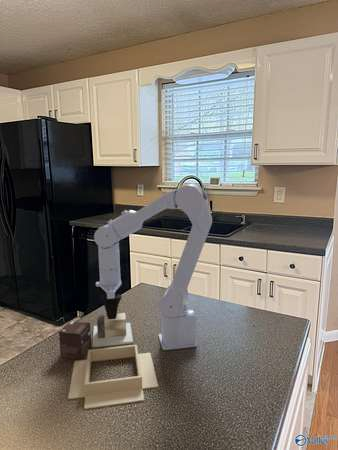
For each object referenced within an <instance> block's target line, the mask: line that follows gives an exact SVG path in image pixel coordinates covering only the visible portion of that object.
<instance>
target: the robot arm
mask: <svg viewBox="0 0 338 450" xmlns="http://www.w3.org/2000/svg"><path fill="white" fill-rule="evenodd" d="M177 208H179V210H181V211H182V212H184V214H186V215H187V217H188V219H189V221H190V222H191V224H192V225H191V229H190V232H189V234H188V237H187V239H186V242H185V245H184V247H183V251H182V252H181V256H180V259H179V261H178V264H177V267H176V270H175V272H174V276H173V277H172V281H171V283H170V284H169V286H168V287H167V288H166V291H165V293H164V294H163V297H162V298H160V301H159V309H160V311H161V312H160V313H161V316H160V317H161V321H160V322H161V325H160V326H161V333H159V334H158V338H159V342H160V346H161V349H162V350H163V351H168V350H169V351H170V350H171V351H172V350H179V349H188V348H196V347H197V346H198V344H197V317H196V313H195V311H194V309H188V308H187V307H188V306H186V304H185V303H186V302H187V299H188V297H189V293H188V292H189V290H188V288H189V285H190V282H191V280H192V277H193V274H194V273H195V272H194V271H195V268H196V266H197V264H198V261H199V258H200V256H201V253H202V251H203V248H204V246H205V242H206V240H207V237H208V235H209V232H210V230H211V226H212V225H213V217H212V213H211V208H210V203H209V199H208V195H207V194H206V191H204V189H203V188H202V186H200V185H199V184H197V183H187V184H186V185H182V186H180V187H178V188H177V189H174V190H171V191H169V192H165V193H164V194H163V195H161V196H159V197H157V198H156V199H155V200H153V201H151V202H150V203H148V204H146V205H145V206H144V207H142V208H141V209H139V210H137V211H136V210H133V209H129V210H127V209H125V210H123V211H121V215H120V216H118V217H116V218H114V219H110V220H108V221H107V224H105V225H103V226H99V227H98V228H97V230H95V232H94V235H93V241H94V242H95V244H96V245H97V248H98V253H97V254H98V269H99V270H98V271H99V281H96V282H95V286H96V287H99V288H101V289H102V290H103V292H104V294H100V296H99V298H100V301H101V303H102V304H103V306H104V308H105V313H106V315H107V317H108V319H116V316H117V314H118V310H119V309H118V307H119V303H120V302H121V300H122V294H118V292H119V288H120V287H121V285H122V280H121V265H120V264H121V263H120V262H121V260H120V258H121V256H120V244H119V243H120V241H121V240H123V239H125V238H127V237H129V236H130V235H132V234H134V233H136V232H137V231H139V230H141V229H142V228H143V225H144V224H143V223H144V221H146V220H148V219H149V218H151V217H153V216H156V215H157V214H159V213H160V212H162V211H164V210H167V209H172V210H177Z"/></svg>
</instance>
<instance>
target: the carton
mask: <svg viewBox="0 0 338 450" xmlns="http://www.w3.org/2000/svg"><path fill="white" fill-rule="evenodd" d="M138 350H139V349H138V344H127V345H120V346H119V345H118V346H110V347H104V348H102V347H100V348H91V349H90V350H88V353H87V359H82V360H75V361H73V367H72V373H71V379H70V380H71V381H70V385H69V392H68V398H67V399H68V400H75V399H82V398H84V404H83V405H84V406H83V407H84V408H83V409H84V410H90V409H96V408H103V407H104V408H105V407H110V406H117V405H123V404H124V405H125V404H130V403H138V402H144V401H145V396H144V391H143V390H148V389H156V388H159V384H158V380H157V376H156V370H155V367H154V362H153V359H152V358H153V357H152V355H151V352H143V353H139V351H138ZM125 358H135V359H134V360H135V364H136V365H135V366H136V373H137V375H134V376H127V377H119V378H113V379H105V380H104V379H103V380H96V381H91V369H92V367H91V366H92V362H93V363H94V362H102V361H109V360H118V359H125Z"/></svg>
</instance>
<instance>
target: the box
mask: <svg viewBox="0 0 338 450" xmlns="http://www.w3.org/2000/svg"><path fill="white" fill-rule="evenodd" d="M58 337H59V338H58V340H59V352H60V358H62V359H70V360H78V361H81V360H84V358H85V357H86V355H88V350H91V349H92V333H91V323H90V322H82V321H81V322H80V321H74V320H73V321H72V320H71V321H68V323H67V324H65V325H64V326H63V328H61V330H59V331H58Z"/></svg>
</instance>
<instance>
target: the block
mask: <svg viewBox="0 0 338 450" xmlns="http://www.w3.org/2000/svg"><path fill="white" fill-rule="evenodd" d="M96 320H97V321H96V326H97V329H98V338H105V337H115V336H125V335H126V323H127V317H126V312H121V313H117V316H116V319H108V317H107V314H100V315H99V314H97V318H96Z"/></svg>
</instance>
